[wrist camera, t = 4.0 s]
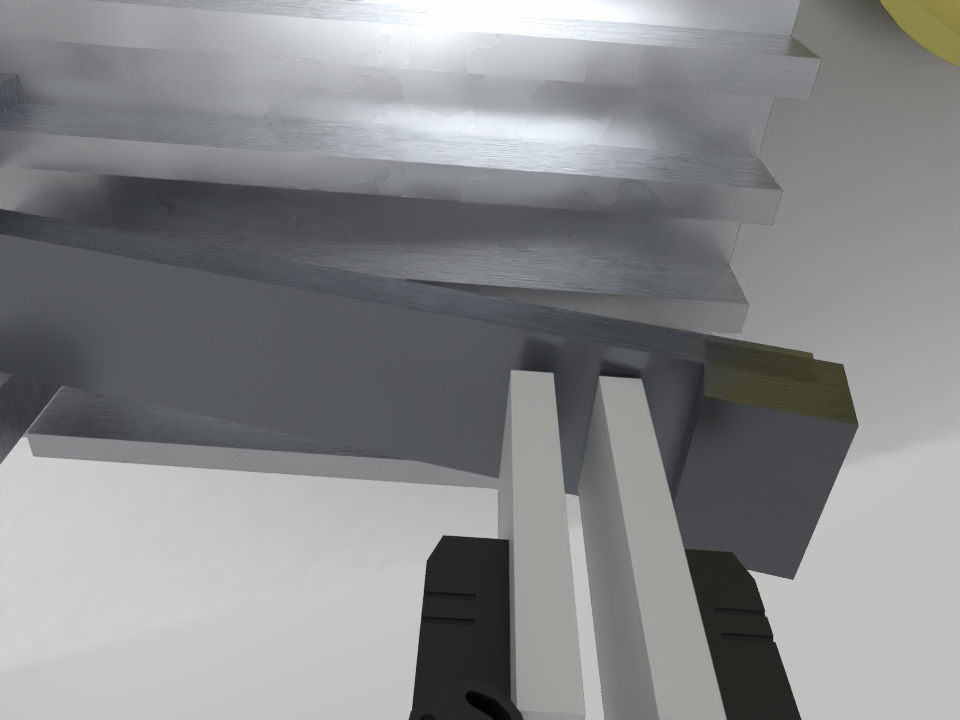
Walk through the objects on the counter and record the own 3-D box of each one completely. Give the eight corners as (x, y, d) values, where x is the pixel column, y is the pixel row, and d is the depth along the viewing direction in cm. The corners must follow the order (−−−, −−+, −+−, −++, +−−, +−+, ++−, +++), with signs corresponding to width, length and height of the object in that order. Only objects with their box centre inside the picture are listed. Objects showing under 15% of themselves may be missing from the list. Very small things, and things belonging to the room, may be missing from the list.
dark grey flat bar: (23, 347, 19) (-42, 395, 17) (-19, 205, 17) (-96, 244, 15) (784, 505, 16) (792, 579, 15) (841, 358, 14) (858, 425, 13)
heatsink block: (737, -58, 22) (934, 48, 12) (642, 370, 29) (712, 651, 19) (-13, -118, 21) (-467, -64, 11) (92, 330, 29) (-122, 595, 19)
